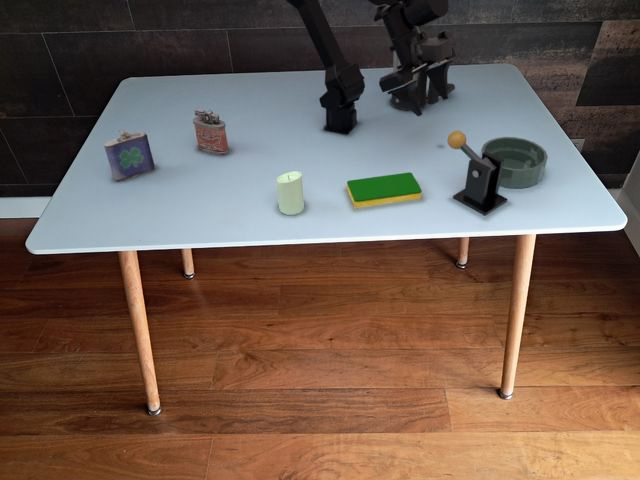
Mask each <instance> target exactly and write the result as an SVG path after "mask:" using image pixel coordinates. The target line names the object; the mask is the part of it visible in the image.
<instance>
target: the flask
mask: <svg viewBox="0 0 640 480" xmlns="http://www.w3.org/2000/svg"><path fill="white" fill-rule="evenodd" d="M118 132H119V137H116V138H113V139H111V140H108V141H106V142H104V144H103V148H104V150H105V151H104V152H105V154H106V157H107V160H108V163H109V167H110V170H111V174H112V178H113V180H114V181H115V182H123V181H126V180H127V179H132V178H135V177H138V176H139V175H141V176H142V175H144V174H147V173H150V172H151V173H152V172H153V171H155V170H156V167H155V161H154V158H153V154H152V149H151V147H150V143H149V142H150V141H149V138H148V134H147V133H146V132H144V131H134V132H133V133H130V132H127V131H126V129H125V128H121V129H120V130H118Z"/></svg>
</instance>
